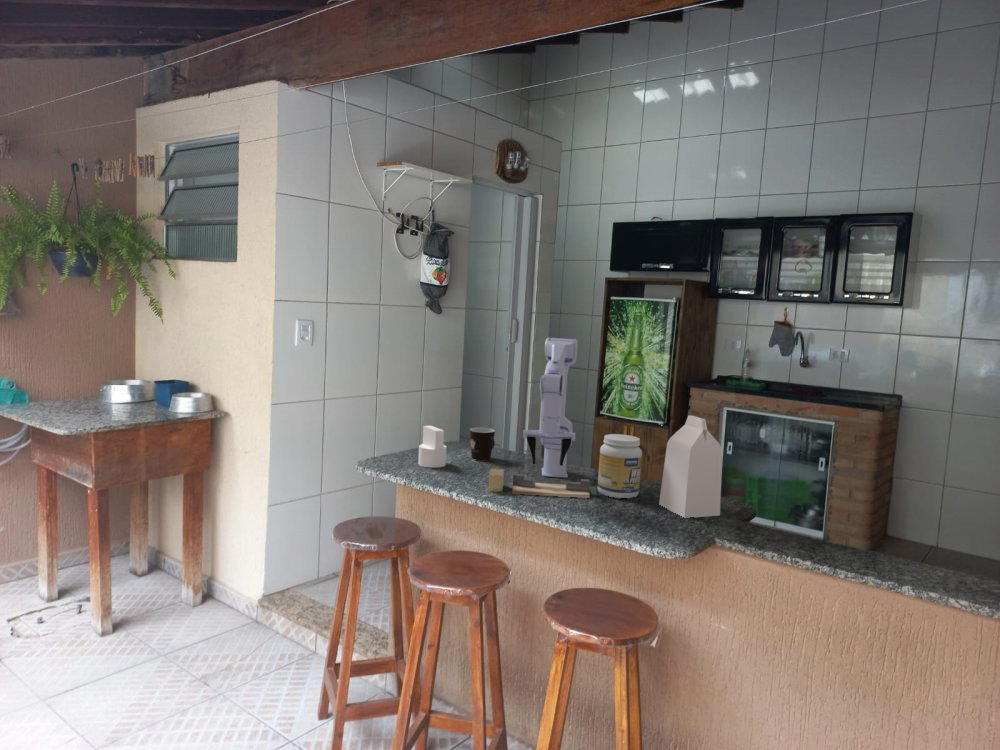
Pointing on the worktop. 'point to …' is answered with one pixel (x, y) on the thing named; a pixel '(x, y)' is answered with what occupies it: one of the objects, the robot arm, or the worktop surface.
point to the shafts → (577, 486)
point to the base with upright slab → (432, 448)
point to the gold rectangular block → (496, 480)
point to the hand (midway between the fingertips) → (547, 464)
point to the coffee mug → (482, 443)
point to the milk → (692, 471)
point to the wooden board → (549, 490)
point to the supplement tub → (620, 466)
